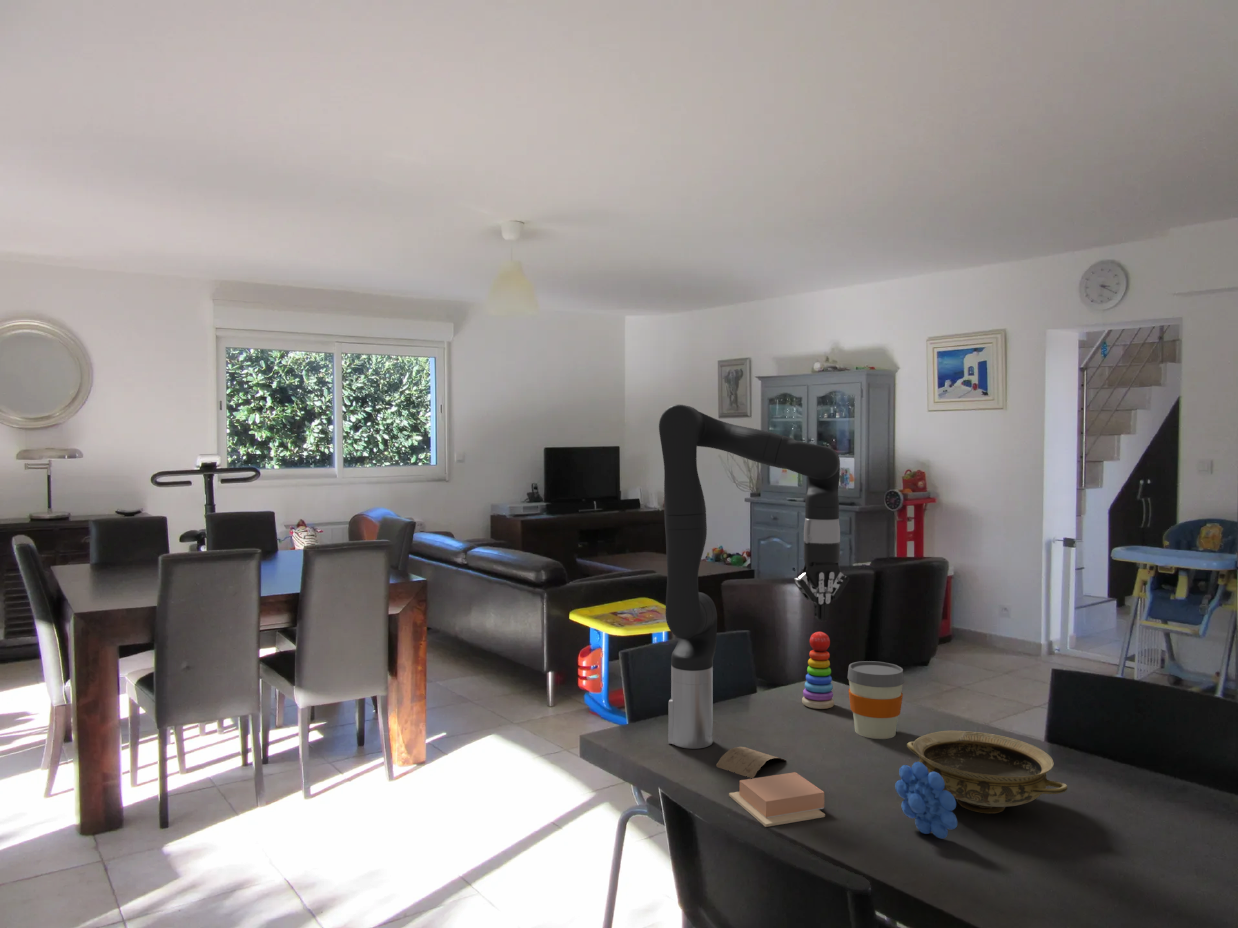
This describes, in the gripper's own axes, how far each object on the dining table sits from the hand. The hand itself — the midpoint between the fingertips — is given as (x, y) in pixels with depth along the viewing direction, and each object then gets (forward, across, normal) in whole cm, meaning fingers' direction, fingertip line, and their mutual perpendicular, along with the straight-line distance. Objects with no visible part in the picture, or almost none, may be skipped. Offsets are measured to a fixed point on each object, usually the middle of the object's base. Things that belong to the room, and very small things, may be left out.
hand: (821, 620), depth 182 cm
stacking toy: (+29, -19, -30) cm, 46 cm away
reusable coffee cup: (+29, -20, -8) cm, 36 cm away
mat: (+29, +22, +19) cm, 41 cm away
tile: (+27, +15, +19) cm, 36 cm away
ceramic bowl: (+29, -14, +31) cm, 45 cm away
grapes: (+29, +4, +38) cm, 48 cm away
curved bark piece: (+30, +16, -1) cm, 34 cm away
